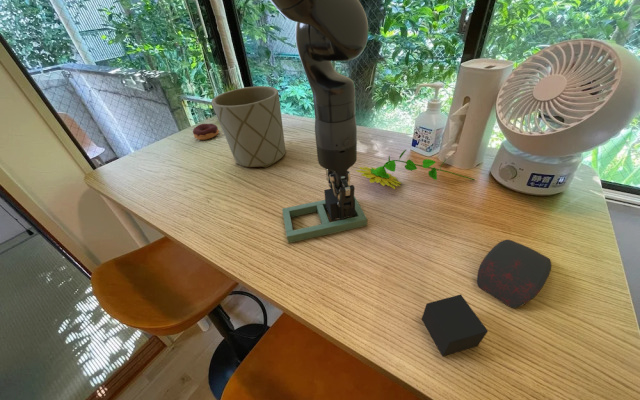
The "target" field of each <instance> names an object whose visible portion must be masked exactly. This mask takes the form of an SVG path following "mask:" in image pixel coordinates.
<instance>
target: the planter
mask: <svg viewBox="0 0 640 400" xmlns="http://www.w3.org/2000/svg"><path fill="white" fill-rule="evenodd" d="M280 101H281V100H280V95H279V90H278V88H275V87H273V86H266V85H265V86H264V85H258V86H257V85H256V86H246V87H240V88H235V89H232V90H228V91H225V92H222V93H220V94H218V95H216V96H214V98H212V100H211V105H212V108H213V110H214V112H215V116H216V118H217V121H218V123H219V126H220V128H221V130H222V133H223V135H224V137H225V139H226V143H227V145H228V147H229V150H230V152H231V155H232V156H233V157H232V158H234V161H235V163H236V164H237V165H240V166H242V167H248V168H255V167H262V168H265V169H266V168H269V167H270V166H272V165H274V164H275V163H277V162H278V161H279V160H280V159H282V158H283V157H284V155H285V154H286V143H285V142H286V141H285V135H284V126H283V119H282V118H283V117H282V109H281V102H280Z"/></svg>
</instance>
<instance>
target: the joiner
mask: <svg viewBox="0 0 640 400" xmlns="http://www.w3.org/2000/svg"><path fill="white" fill-rule="evenodd" d="M354 198H355V215H354V216H351V217H347V218H343V219H337V220H333V221H330V220H329V217H328V215H327V212H326V210H327V207H326V203H325V199H321V200H317V201H312V202H307V203H303V204H297V205H293V206H288V207H284V208H283V207H282V208H281V210H282V216H283V223H284V230H285V235H286V241H287V243H288V244H291V243H294V242H295V243H296V242H300V241H304V240H308V239H309V240H310V239H313V238H318V237H322V236H327V235H331V234H337V233H340V232H343V231H349V230H353V229H358V228H363V227H367V226H368V218H367V216H366V214H365V212H364V210H363V209H362V207H361V205H360V204H359V202H358V200H357V198H356V196H355V195H354ZM327 211H328V210H327ZM313 213H317V215H318V218H319V222H320V224H315V225H312V226H306V227H301V228H298V229H293V223H292V218H294V217H300V216H303V215H309V214H313Z"/></svg>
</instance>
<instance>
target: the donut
mask: <svg viewBox="0 0 640 400" xmlns="http://www.w3.org/2000/svg"><path fill="white" fill-rule="evenodd" d="M219 133H220V130H219V129H218V126H217V125H216V124H214V123H201V124H198V125H196V126H195V127H194V128H193V129H192V134H193V137H194V138H195V139H196V140H198V141H204V140H205V141H206V140H210V139H213V138H215V137H216V136H218V134H219Z"/></svg>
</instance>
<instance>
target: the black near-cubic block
mask: <svg viewBox="0 0 640 400" xmlns="http://www.w3.org/2000/svg"><path fill="white" fill-rule="evenodd" d="M339 190H340V189H336V191H339ZM323 192H324V193H323V194H324V200H325V203H326V207H327V212H328V215H329V218H330V220H331V221H336V220H340V219H339V217H338V205H337V198H336V196H335V195H334V194H333V188H332V189H330V188H328V189H324V191H323ZM355 198H356V197H355ZM355 198H354V200H353V208H349V217H354V216H355Z"/></svg>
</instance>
